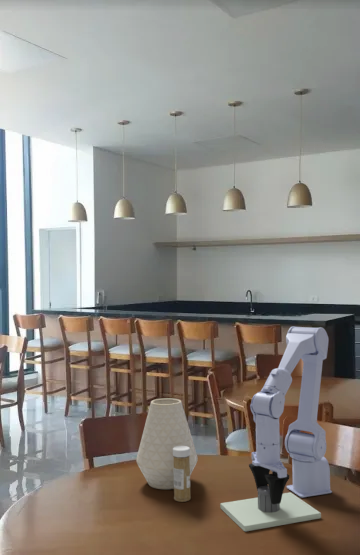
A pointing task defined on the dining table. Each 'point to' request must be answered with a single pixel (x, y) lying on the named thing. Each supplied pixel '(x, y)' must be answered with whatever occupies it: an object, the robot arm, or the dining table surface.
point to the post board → (253, 518)
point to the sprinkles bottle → (181, 473)
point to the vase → (164, 442)
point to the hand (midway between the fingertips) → (269, 498)
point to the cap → (266, 500)
